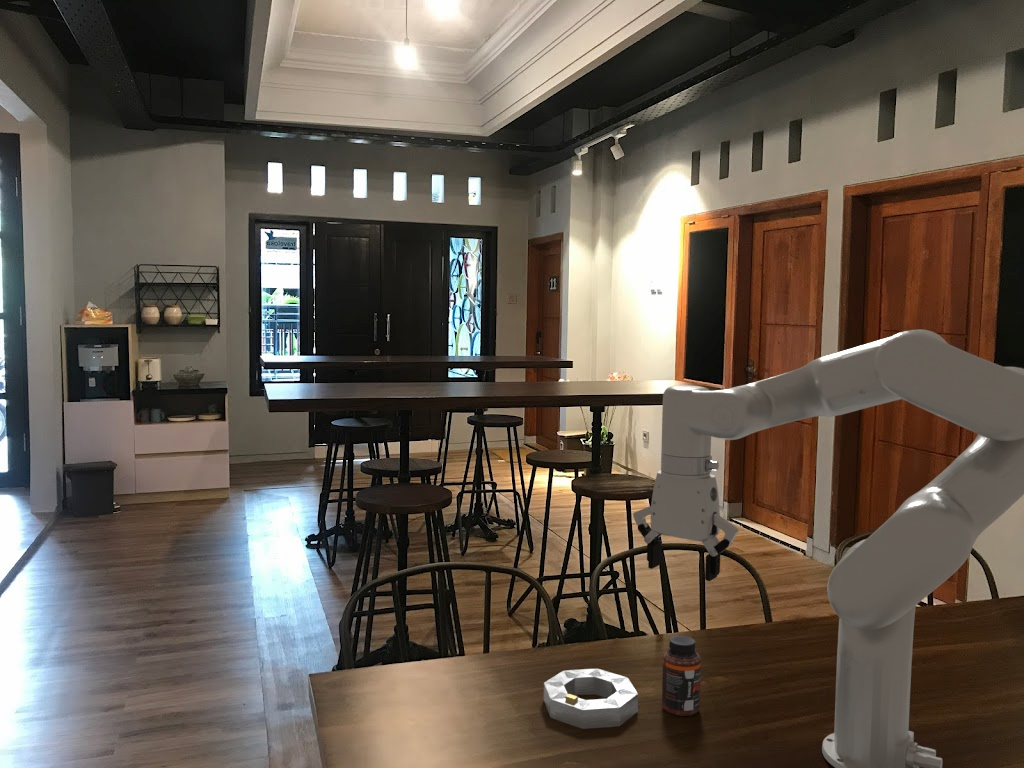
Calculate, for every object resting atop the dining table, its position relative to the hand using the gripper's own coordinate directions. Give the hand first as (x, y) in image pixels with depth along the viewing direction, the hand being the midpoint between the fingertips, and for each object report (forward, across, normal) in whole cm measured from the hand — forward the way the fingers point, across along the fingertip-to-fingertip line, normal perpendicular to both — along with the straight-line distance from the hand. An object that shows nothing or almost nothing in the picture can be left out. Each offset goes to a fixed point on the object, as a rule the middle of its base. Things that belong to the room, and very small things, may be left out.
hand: (682, 572), depth 131 cm
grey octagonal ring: (+22, +12, +8) cm, 26 cm away
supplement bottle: (+22, 0, 0) cm, 22 cm away
